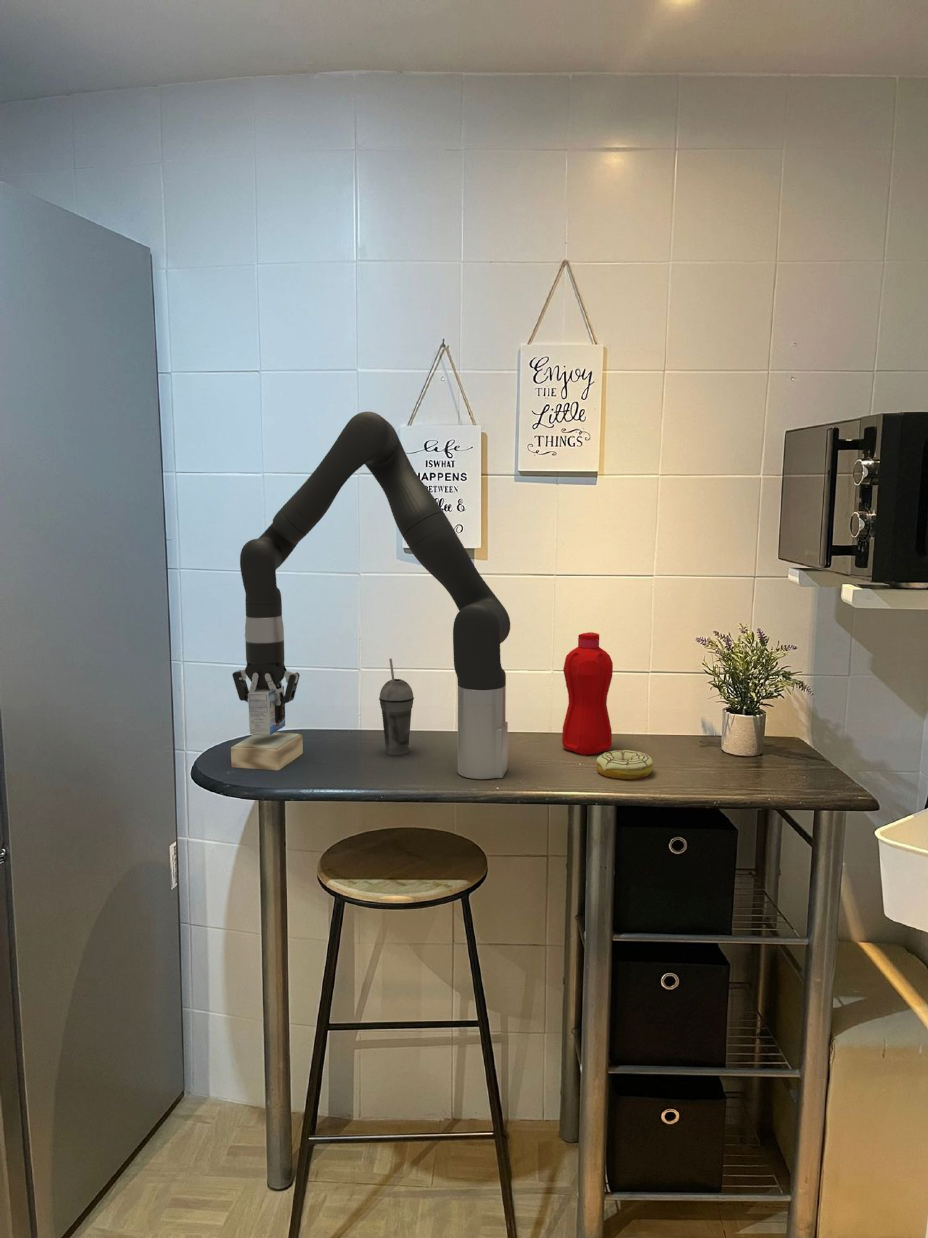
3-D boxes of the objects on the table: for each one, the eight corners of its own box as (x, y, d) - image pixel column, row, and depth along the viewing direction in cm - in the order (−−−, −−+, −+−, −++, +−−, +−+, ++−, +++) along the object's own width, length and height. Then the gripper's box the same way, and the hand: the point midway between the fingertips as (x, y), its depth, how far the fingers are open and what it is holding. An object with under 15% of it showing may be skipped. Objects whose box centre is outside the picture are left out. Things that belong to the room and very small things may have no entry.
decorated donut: (593, 765, 175) (594, 746, 174) (648, 766, 174) (648, 747, 173) (598, 781, 164) (599, 762, 164) (656, 782, 164) (657, 763, 163)
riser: (302, 753, 182) (302, 733, 182) (278, 770, 170) (278, 749, 170) (258, 750, 184) (257, 731, 184) (231, 767, 173) (230, 746, 172)
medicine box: (269, 736, 172) (268, 693, 171) (248, 735, 173) (247, 692, 172) (285, 726, 180) (284, 685, 179) (265, 725, 181) (264, 684, 180)
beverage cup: (419, 755, 181) (418, 660, 178) (385, 758, 178) (384, 662, 176) (408, 746, 188) (407, 654, 185) (375, 749, 185) (374, 656, 182)
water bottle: (580, 739, 193) (582, 627, 189) (617, 750, 184) (620, 633, 181) (550, 746, 187) (551, 631, 184) (586, 758, 178) (589, 637, 175)
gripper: (305, 636, 176) (307, 719, 178) (240, 634, 179) (243, 715, 181) (290, 642, 169) (292, 728, 171) (222, 640, 172) (226, 724, 174)
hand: (267, 721), depth 176 cm, fingers closed on medicine box, 4 cm apart
